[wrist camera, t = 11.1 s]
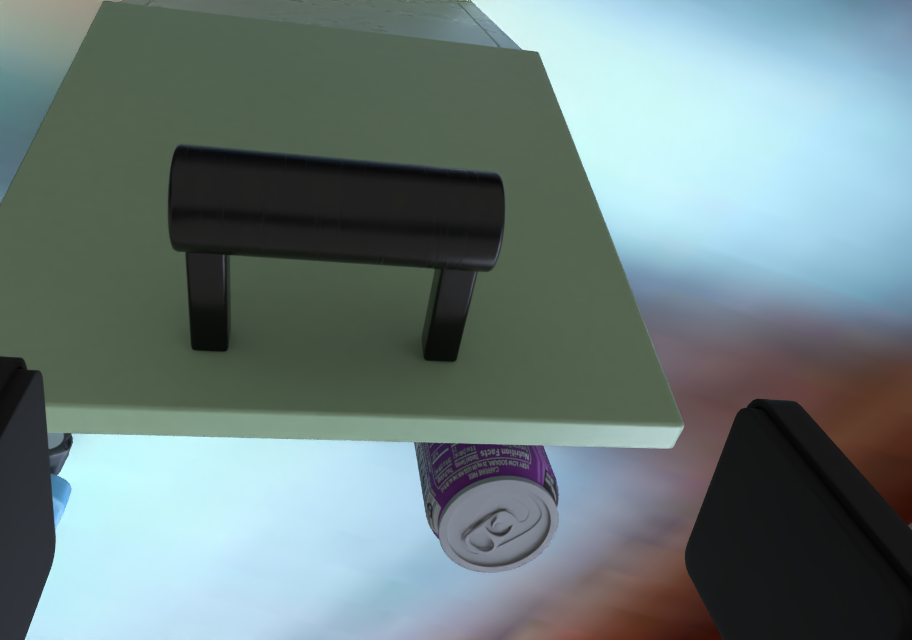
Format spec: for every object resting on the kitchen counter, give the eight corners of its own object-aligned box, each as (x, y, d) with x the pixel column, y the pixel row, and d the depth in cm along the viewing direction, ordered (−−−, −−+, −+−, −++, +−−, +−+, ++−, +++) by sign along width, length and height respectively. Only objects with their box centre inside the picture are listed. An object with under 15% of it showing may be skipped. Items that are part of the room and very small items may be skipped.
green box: (432, 296, 49) (467, 432, 37) (177, 280, 46) (129, 422, 35) (473, 2, 41) (533, 59, 30) (171, -37, 39) (107, 9, 27)
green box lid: (673, 450, 17) (774, 263, 14) (-90, 431, 15) (-188, 192, 11) (533, 72, 30) (570, -76, 26) (105, 23, 27) (86, -148, 24)
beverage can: (463, 459, 55) (496, 599, 45) (384, 401, 52) (400, 537, 42) (541, 389, 53) (595, 518, 43) (464, 326, 50) (502, 448, 40)
